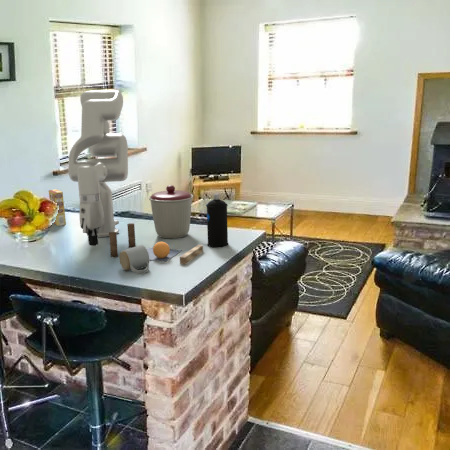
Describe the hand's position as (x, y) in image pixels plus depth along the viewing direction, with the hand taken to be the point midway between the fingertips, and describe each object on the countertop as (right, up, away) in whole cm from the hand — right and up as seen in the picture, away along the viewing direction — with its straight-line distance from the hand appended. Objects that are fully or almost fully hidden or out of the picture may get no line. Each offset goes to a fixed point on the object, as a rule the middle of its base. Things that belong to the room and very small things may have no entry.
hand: (93, 244), depth 214 cm
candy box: (-26, +8, +42) cm, 50 cm away
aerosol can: (+48, 0, +2) cm, 48 cm away
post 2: (+15, -1, +2) cm, 15 cm away
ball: (+28, -1, -14) cm, 31 cm away
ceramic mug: (+21, -8, -25) cm, 34 cm away
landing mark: (+25, -3, -9) cm, 27 cm away
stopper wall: (+38, -4, -14) cm, 41 cm away
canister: (+29, +3, +17) cm, 33 cm away
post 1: (+10, -4, -10) cm, 15 cm away
